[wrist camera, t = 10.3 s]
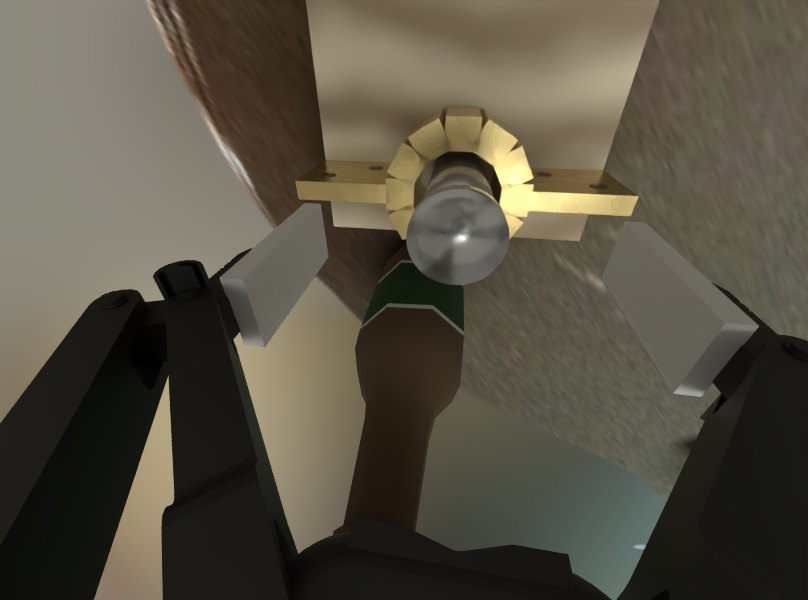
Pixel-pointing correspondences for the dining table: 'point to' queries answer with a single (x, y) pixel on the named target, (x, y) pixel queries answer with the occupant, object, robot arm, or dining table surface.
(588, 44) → the board
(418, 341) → the beer bottle
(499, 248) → the pin
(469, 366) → the dining table surface
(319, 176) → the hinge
